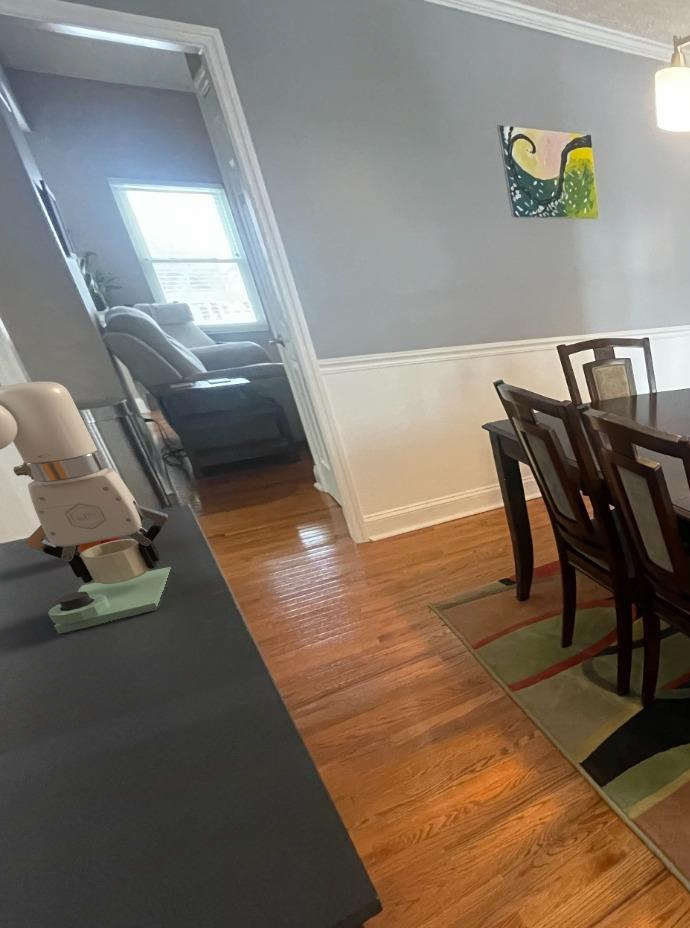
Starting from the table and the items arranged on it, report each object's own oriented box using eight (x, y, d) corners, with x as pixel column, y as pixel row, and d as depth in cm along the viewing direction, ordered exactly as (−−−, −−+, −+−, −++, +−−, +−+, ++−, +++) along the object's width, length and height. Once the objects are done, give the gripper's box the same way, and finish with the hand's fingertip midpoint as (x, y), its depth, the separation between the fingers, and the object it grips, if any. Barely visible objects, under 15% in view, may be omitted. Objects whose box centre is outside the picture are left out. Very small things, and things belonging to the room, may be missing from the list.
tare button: (61, 614, 87) (55, 603, 86) (67, 605, 89) (61, 595, 88) (89, 607, 89) (84, 597, 88) (94, 599, 91) (89, 589, 90)
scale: (53, 637, 86) (42, 619, 85) (81, 593, 98) (72, 577, 97) (158, 611, 92) (150, 595, 91) (173, 573, 104) (166, 558, 102)
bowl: (89, 590, 92) (74, 562, 90) (100, 573, 97) (85, 546, 95) (148, 577, 96) (134, 549, 93) (156, 562, 101) (143, 535, 99)
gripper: (-30, 486, 81) (38, 598, 89) (141, 462, 90) (189, 565, 98) (-9, 472, 87) (53, 579, 94) (150, 451, 96) (195, 549, 103)
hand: (122, 571), depth 96 cm, fingers closed on bowl, 6 cm apart
